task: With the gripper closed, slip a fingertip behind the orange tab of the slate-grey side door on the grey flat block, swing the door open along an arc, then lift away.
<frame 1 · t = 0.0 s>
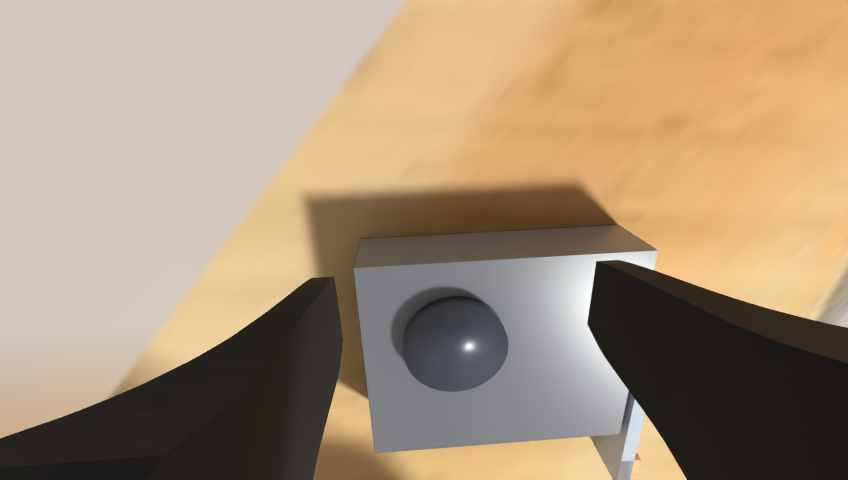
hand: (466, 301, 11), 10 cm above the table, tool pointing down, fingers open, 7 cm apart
side door: (627, 377, 23), point 2 cm above the table, hinge at 0.0°
grey flat block: (488, 322, 23), on the table
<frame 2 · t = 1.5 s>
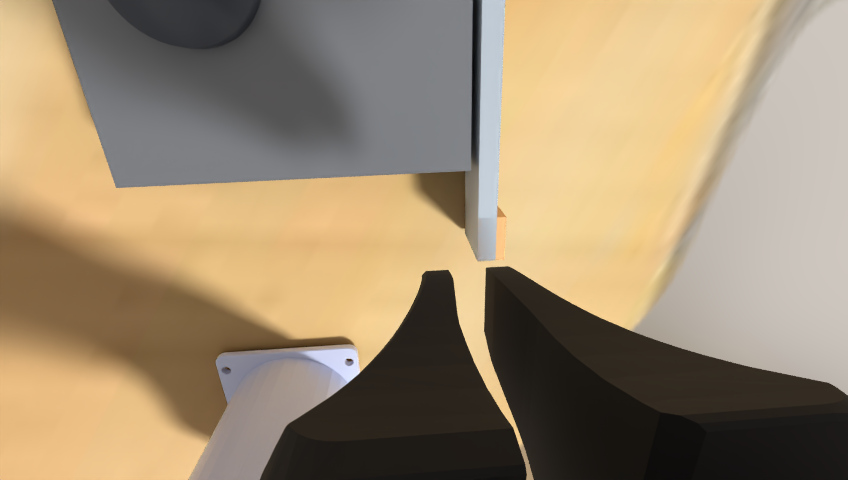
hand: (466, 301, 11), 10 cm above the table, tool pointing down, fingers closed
side door: (486, 100, 16), point 2 cm above the table, hinge at 0.0°
grey flat block: (295, 27, 17), on the table
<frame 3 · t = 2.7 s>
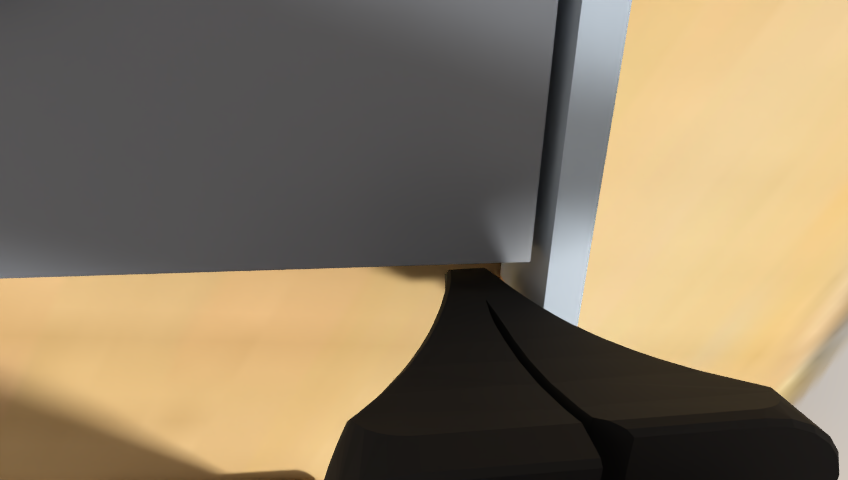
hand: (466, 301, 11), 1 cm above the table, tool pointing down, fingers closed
side door: (560, 122, 9), point 2 cm above the table, hinge at 0.1°, touching gripper
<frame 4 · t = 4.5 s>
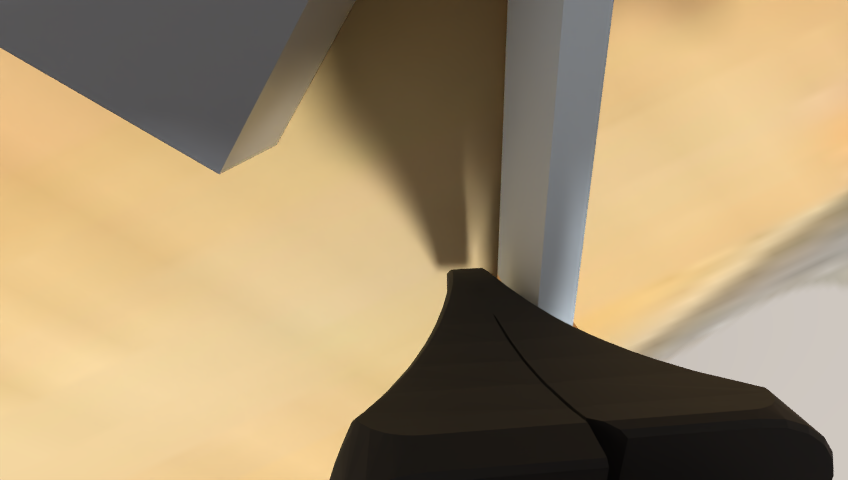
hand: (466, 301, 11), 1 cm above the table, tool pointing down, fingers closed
side door: (550, 119, 8), point 2 cm above the table, hinge at 36.9°, touching gripper
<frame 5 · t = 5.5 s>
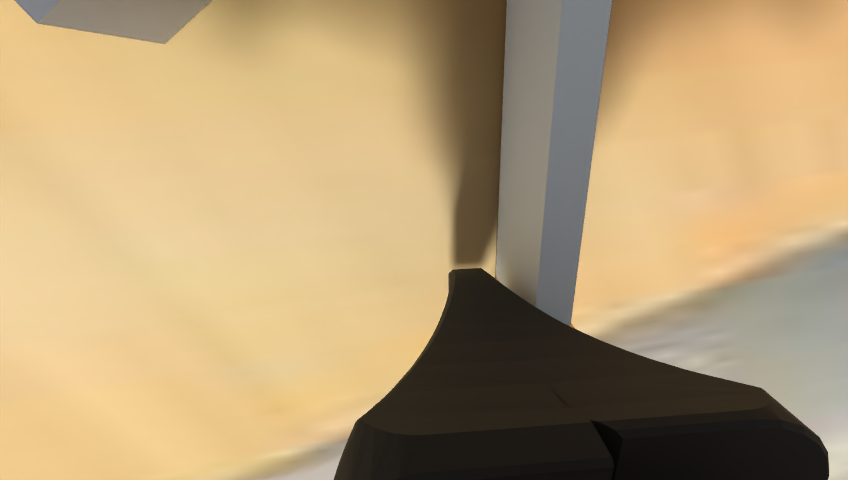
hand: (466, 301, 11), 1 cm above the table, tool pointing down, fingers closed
side door: (549, 121, 8), point 2 cm above the table, hinge at 56.6°, touching gripper
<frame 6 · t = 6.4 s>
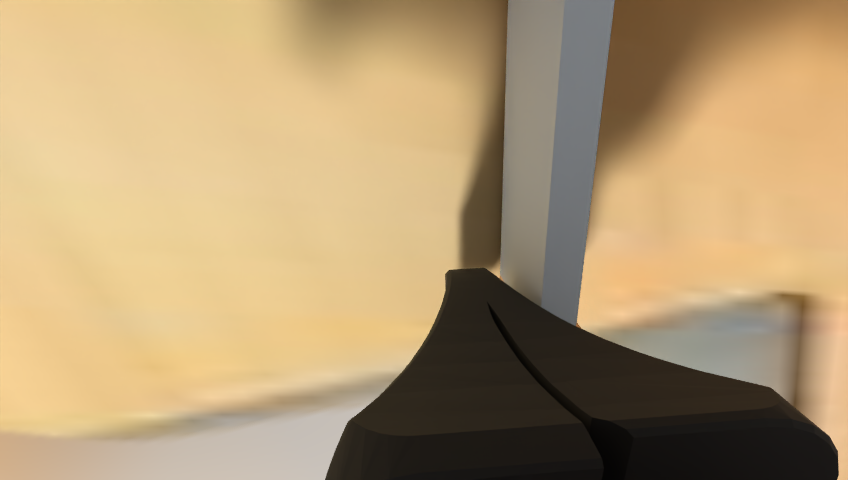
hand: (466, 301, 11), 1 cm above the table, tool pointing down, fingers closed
side door: (552, 120, 8), point 2 cm above the table, hinge at 70.7°, touching gripper
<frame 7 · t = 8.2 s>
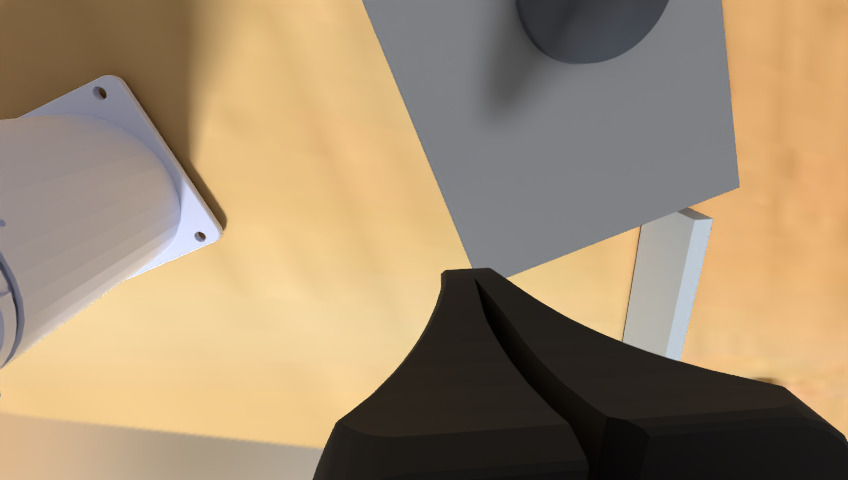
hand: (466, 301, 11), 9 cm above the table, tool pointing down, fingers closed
side door: (657, 326, 21), point 2 cm above the table, hinge at 70.8°
grey flat block: (534, 77, 17), on the table
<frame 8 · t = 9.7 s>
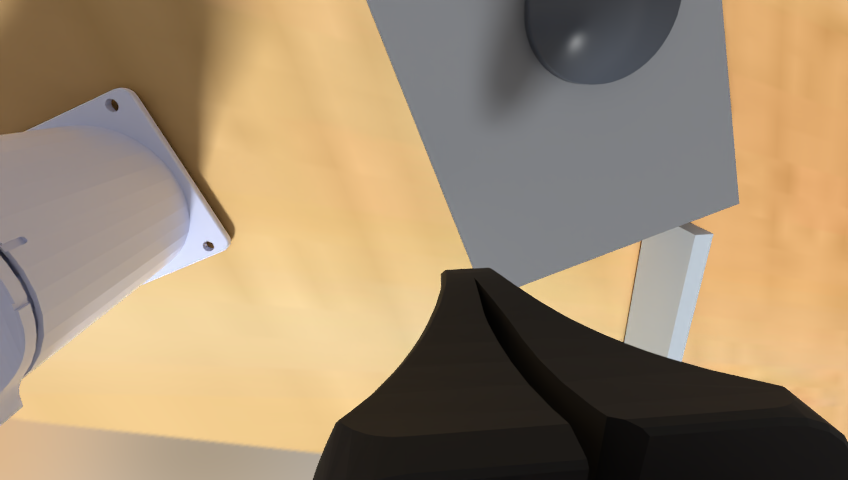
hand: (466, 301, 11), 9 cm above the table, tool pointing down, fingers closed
side door: (656, 336, 21), point 2 cm above the table, hinge at 70.8°
grey flat block: (539, 92, 18), on the table
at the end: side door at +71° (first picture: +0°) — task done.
